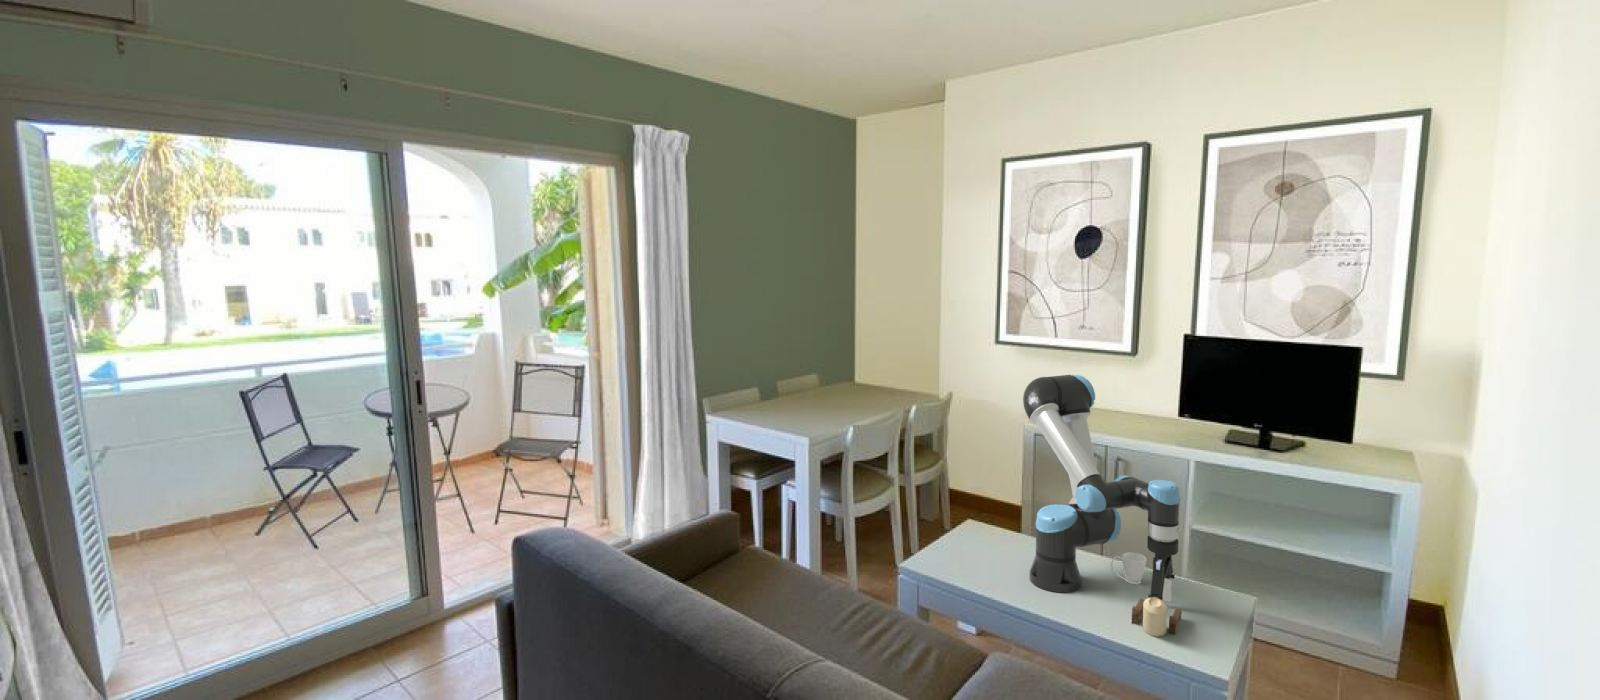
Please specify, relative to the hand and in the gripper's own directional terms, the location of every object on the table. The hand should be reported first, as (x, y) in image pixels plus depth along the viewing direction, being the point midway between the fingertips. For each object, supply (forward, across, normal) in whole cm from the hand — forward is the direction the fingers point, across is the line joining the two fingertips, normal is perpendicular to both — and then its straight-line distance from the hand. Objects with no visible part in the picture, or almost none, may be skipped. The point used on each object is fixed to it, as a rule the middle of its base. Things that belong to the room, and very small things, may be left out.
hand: (1161, 610), depth 186 cm
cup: (+2, +19, +12) cm, 22 cm away
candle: (+1, -10, 0) cm, 10 cm away
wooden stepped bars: (+2, -3, +1) cm, 4 cm away
